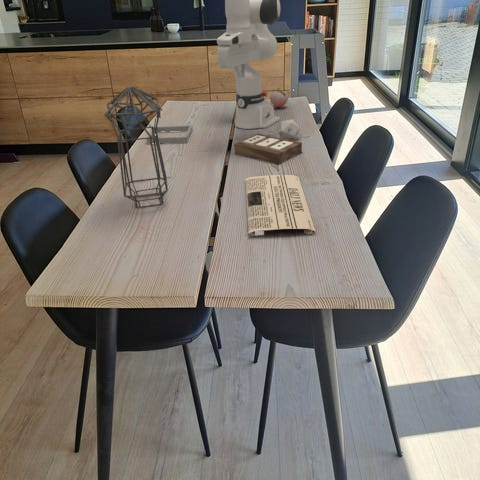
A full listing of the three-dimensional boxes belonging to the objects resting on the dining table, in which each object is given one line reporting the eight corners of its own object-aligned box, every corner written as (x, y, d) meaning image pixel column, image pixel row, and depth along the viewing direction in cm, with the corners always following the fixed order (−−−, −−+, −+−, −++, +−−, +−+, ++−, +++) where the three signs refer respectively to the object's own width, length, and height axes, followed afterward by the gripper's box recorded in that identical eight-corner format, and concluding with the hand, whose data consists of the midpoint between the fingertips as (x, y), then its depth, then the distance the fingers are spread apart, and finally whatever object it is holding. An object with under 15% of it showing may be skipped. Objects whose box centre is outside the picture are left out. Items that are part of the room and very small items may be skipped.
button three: (257, 142, 183) (257, 134, 181) (266, 144, 180) (266, 136, 179) (243, 148, 177) (242, 140, 176) (251, 150, 175) (251, 142, 173)
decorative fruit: (266, 109, 233) (265, 88, 228) (275, 105, 238) (275, 85, 233) (281, 111, 227) (281, 90, 222) (290, 107, 233) (290, 87, 227)
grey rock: (273, 141, 190) (279, 127, 181) (279, 126, 193) (285, 111, 185) (292, 148, 190) (298, 134, 181) (297, 133, 194) (303, 118, 185)
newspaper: (245, 184, 153) (245, 176, 151) (303, 181, 152) (303, 173, 151) (248, 239, 121) (247, 230, 119) (321, 236, 120) (321, 226, 119)
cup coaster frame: (155, 132, 207) (154, 126, 206) (192, 130, 206) (192, 125, 205) (147, 144, 192) (146, 138, 191) (187, 143, 191) (186, 137, 190)
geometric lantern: (123, 215, 136) (99, 95, 118) (124, 193, 149) (103, 83, 131) (175, 208, 138) (160, 90, 120) (172, 188, 151) (157, 78, 134)
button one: (270, 145, 179) (270, 137, 178) (279, 147, 177) (279, 139, 175) (256, 151, 174) (255, 143, 172) (265, 154, 171) (265, 146, 169)
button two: (283, 148, 176) (283, 140, 174) (293, 150, 173) (293, 142, 171) (269, 155, 170) (269, 146, 168) (279, 157, 167) (279, 149, 166)
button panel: (258, 143, 187) (258, 133, 185) (301, 152, 175) (301, 142, 173) (234, 153, 177) (234, 143, 175) (278, 164, 165) (278, 153, 163)
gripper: (250, 32, 171) (252, 71, 178) (213, 40, 157) (216, 81, 164) (264, 33, 167) (264, 73, 174) (226, 40, 154) (229, 83, 161)
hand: (241, 77), depth 169 cm, fingers closed
